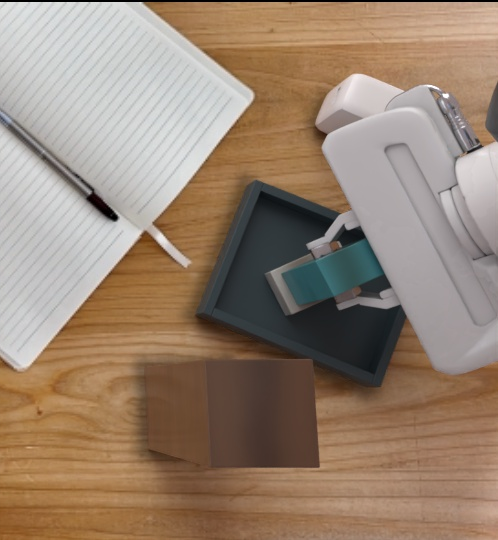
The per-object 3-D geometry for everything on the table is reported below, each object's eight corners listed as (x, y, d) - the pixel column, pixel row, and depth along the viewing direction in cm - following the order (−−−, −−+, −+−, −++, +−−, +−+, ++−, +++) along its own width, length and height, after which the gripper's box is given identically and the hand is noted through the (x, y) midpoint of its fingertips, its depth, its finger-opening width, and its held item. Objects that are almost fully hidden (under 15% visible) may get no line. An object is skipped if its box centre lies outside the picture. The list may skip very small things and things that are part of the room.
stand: (226, 366, 74) (313, 358, 56) (230, 449, 73) (320, 468, 55) (144, 366, 74) (205, 359, 57) (147, 449, 73) (210, 467, 56)
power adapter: (446, 136, 76) (487, 115, 70) (426, 185, 75) (466, 168, 70) (327, 86, 77) (357, 61, 71) (306, 134, 77) (335, 113, 71)
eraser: (331, 243, 74) (380, 224, 66) (353, 285, 74) (405, 271, 65) (263, 274, 74) (303, 259, 66) (285, 316, 74) (328, 306, 65)
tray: (417, 253, 75) (431, 249, 72) (367, 387, 73) (380, 387, 71) (246, 185, 76) (255, 178, 74) (194, 315, 75) (202, 312, 72)
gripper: (430, 73, 59) (251, 165, 69) (579, 347, 56) (370, 403, 66) (452, 71, 63) (281, 158, 73) (591, 325, 61) (393, 381, 70)
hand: (324, 276), depth 69 cm, fingers closed on eraser, 3 cm apart
